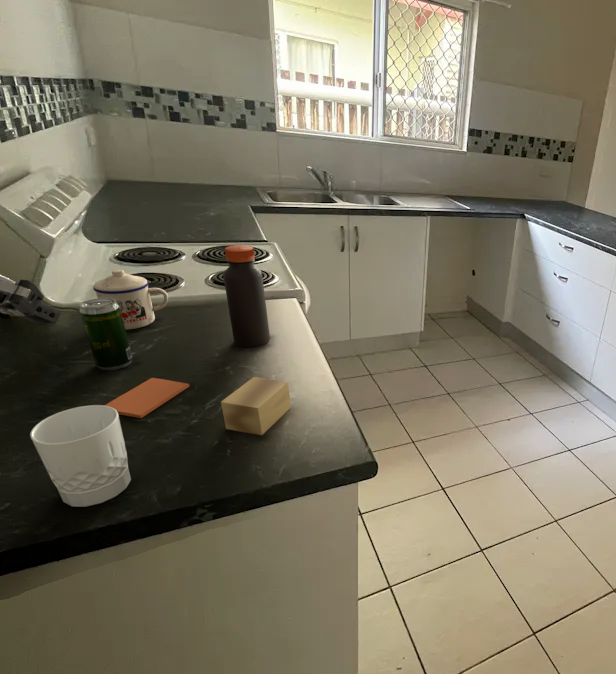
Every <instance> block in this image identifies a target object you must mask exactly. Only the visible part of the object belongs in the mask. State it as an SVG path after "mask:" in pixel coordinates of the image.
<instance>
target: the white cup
mask: <svg viewBox="0 0 616 674" xmlns="http://www.w3.org/2000/svg"><path fill="white" fill-rule="evenodd" d="M122 429H123V428H122V424H121V421H120V416H119V414H118V412H117V411H116V410H115V409H114V408H112V407H109V406H104V405H102V404H92V405H83V406H77V407H72V408H69V409H65V410H62V411H60V412H56V413H54V414H51V415H50V416H47V417H46V418H44V419H42V420H41V421H39V422H38V423H37V424H35V426H33V428H32V429H31V431H30V433H29V437H30V439H31V442H32V443H33V445H34V448H35V450H36V452H37V454H38V456H39V458H40V460H41V462H42V464H43V466H44V469H45V470H46V472H47V474H48V475H49V478H50V480H51V482H52V484H54V487H56V489H57V491H58V493H59V496H60V498H61V500H62V502H63V503H64V504H66V505H68V506H70V507H73V508H74V507H75V508H86V507H92V506H95V505H99V504H102V503H105V502H107V501H109V500H111V499H113V498H115V497H117V496H119V494H121V493H122V492H124V491H125V490H126V489H127V487H128V486H129V484H130V483H131V481H132V477H131V474H130V470H129V469H130V468H129V463H128V462H129V458H128V453H127V448H126V442H125V439H124V435H123V434H124V433H123V430H122Z"/></svg>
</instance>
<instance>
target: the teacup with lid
mask: <svg viewBox="0 0 616 674" xmlns="http://www.w3.org/2000/svg"><path fill="white" fill-rule="evenodd" d="M92 288H93V291H94V292H95V293H96V297H97V298H96V299H98V298H111V299H115V300H116V303H117V304H118V305H119V308H120V311H121V315H122V319H123V323H124V327H125V330H126V331H127V330H134V329H135V330H136V329H139V328H143V327H146V326H149V325H151V324H152V323H153V322H155V319H156V316H155V313H154V312H155V311H159V310H162V309H164V308H165V307H166V306H167V304H168V301H169V295H168V292H166V290H164V289H163V288H160V287H149V281H148V280H147V279H146V278H145V277H142V276H139V275H133V274H131V273H130V274H129V273H126V272H125V271H124V270H123V269H113V270H112V272H111V274H110V275H108V276H106V277H105V278H102V279H99V280H97V281H96V282H94V284H93V287H92ZM151 293H159V294H161V295H162V296H163V298H164V299H163V302H162V303H161V304H159V305H154V306H153V304H152V303H153V302H152V299H151V295H150V294H151Z"/></svg>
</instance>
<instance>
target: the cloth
mask: <svg viewBox="0 0 616 674" xmlns="http://www.w3.org/2000/svg"><path fill="white" fill-rule="evenodd" d="M189 387H190V384H189V383H186V382H180V381H174V380H169V379H163V378H156V377H151V378H149V379H147V380H146V381H144V382H142V383H140V384H139V385H137V386H135V387H134V388H132V389H130V390H129V391H126V392H125V393H123V394H121V395H120V396H118V397H116V398H115V399H112V400H111V401H109V402H107V403H106V404H104V405H103V406H109V407H112V408H114V409H115V410H116V411H117V412H118V415H120V416H125V417H126V416H127V417H132V418H138V419H142V418H145V417H146V416H147V415H148V414H150V413H151V412H153V411H154V410H156V409H158V408H159V407H160V406H162V405H163V404H165V403H167V402H168V401H170V400H171V399H173V398H174V397H176V396H177V395H179V394H180V393H182V392H184V391H185V390H186V389H188V388H189Z"/></svg>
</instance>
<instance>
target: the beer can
mask: <svg viewBox="0 0 616 674" xmlns="http://www.w3.org/2000/svg"><path fill="white" fill-rule="evenodd" d="M79 314H80V318H81V322H82V324H83V327H84V330H85V334H86V337H87V341H88V344H89V348H90V350H91V353H92V357H93V361H94V363H95V366H96V367H97V368H98V369H100V370H101V371H115V370H116V371H117V370H120V369H123V368H126V367H128V366H130V365H131V364H132V362H133V359H134V357H133V353H132V350H131V345H130V342H129V339H128V335H127V330H125V327H124V323H123V319H122V315H121V311H120V308H119V305H118V304H117V303H116V300H115V299H111V298H92V299H87V300H85V301H82V302H81V303H79Z"/></svg>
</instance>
